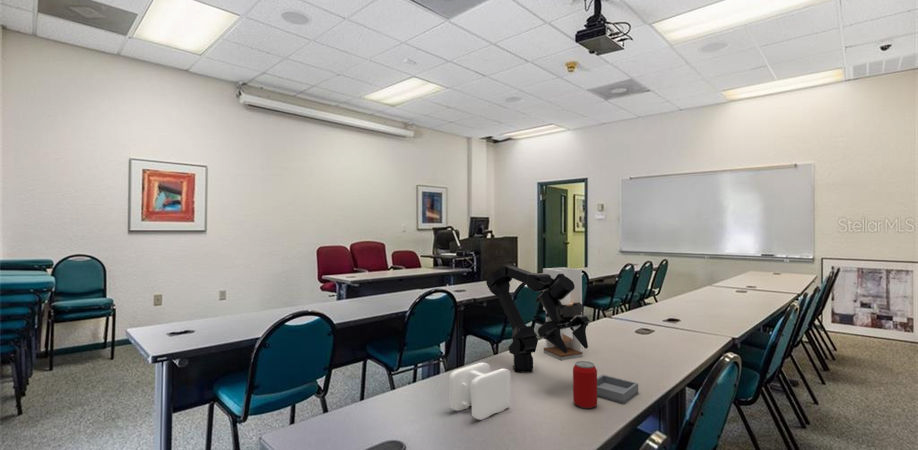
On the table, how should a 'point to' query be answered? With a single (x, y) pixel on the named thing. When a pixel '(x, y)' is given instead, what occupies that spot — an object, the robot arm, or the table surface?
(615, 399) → the coaster tray
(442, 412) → the table surface
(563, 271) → the display case
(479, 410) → the cable organizer
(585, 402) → the beverage can
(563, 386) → the table surface
